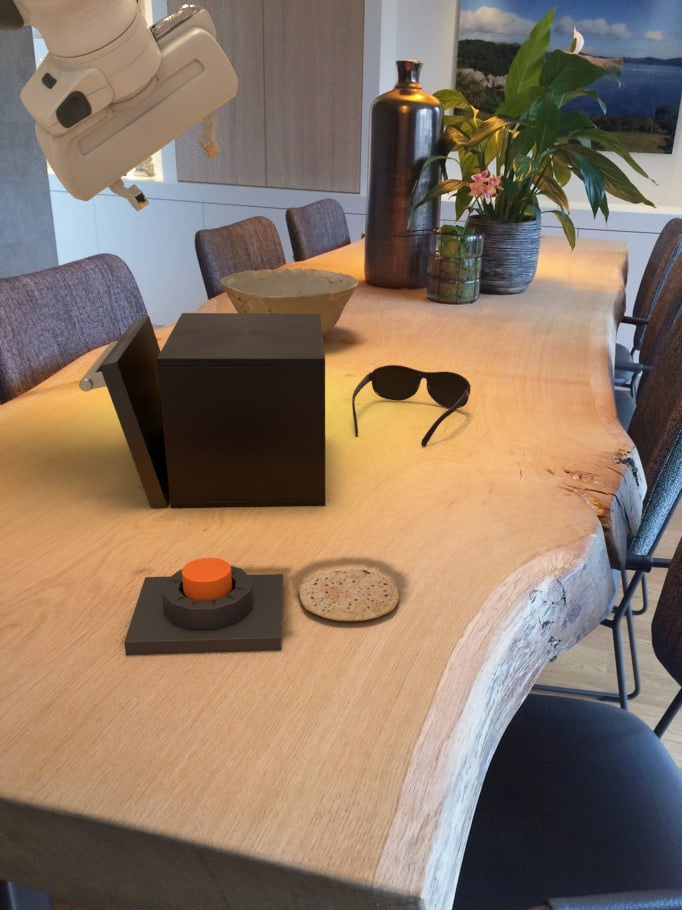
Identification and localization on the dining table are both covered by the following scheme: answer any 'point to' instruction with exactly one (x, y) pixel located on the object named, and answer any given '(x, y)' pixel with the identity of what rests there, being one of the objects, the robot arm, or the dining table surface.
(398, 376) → the sunglasses
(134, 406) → the oven door
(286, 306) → the ceramic bowl
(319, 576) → the flatbread
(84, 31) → the robot arm
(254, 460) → the mini oven
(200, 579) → the button
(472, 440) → the dining table surface
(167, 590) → the block
